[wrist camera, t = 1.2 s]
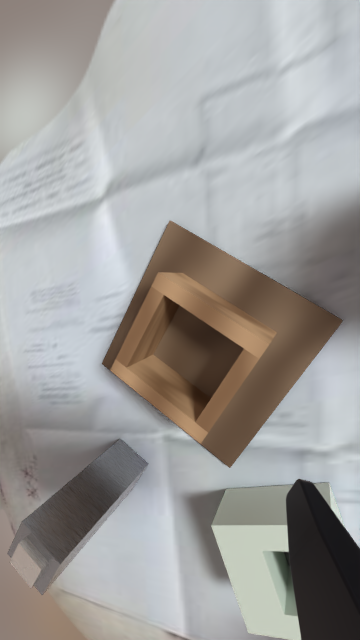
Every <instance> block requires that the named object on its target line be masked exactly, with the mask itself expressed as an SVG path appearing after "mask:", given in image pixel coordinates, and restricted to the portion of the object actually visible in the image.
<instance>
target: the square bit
mask: <svg viewBox="0 0 360 640" xmlns="http://www.w3.org/2000/svg"><path fill="white" fill-rule="evenodd" d="M147 465H148V463H147V462H146V461H145V460H144V459H143V458H141V457H140V456H139V455H138V454H137V453H136V452H135V451H134V450H132V449H131V448H130V447H129V446H128V445H127V444H126V443H125V442H123V441H122V440H121V439H119V440H118V441H117V442H116V443H115V444H114V445H112V446H111V447H110V448H109V449H108V450H106V451H105V452H104V453H103V454H102V455H100V456H99V457H98V458H97V459H96V460H95V461H93V462H92V463H91V464H90V465H89V466H87V467H86V468H85V469H84V470H83V471H82V472H80V473H79V474H78V475H77V476H76V477H74V478H73V479H72V480H71V481H70V482H68V483H67V484H66V485H65V486H64V487H63V488H61V489H60V490H59V491H58V492H57V493H55V494H54V495H53V496H52V497H51V498H49V499H48V500H47V501H46V502H45V503H44V504H42V505H41V506H40V507H39V508H38V509H36V510H35V511H34V512H33V513H32V514H31V515H29V516H28V517H27V518H26V519H25V520H23V521H22V523H21V525H20V527H19V529H18V531H17V534H16V536H15V538H14V540H13V542H12V545H11V547H10V549H9V551H8V555H9V556H10V557H11V560H10V564H11V565H12V566H13V567H14V569H15V570H16V571H17V572H18V573H19V575H20V576H21V577H22V578H23V579H24V581H25V582H26V583H27V584H28V586H29V587H30V588H32V587H33V586H35V587H36V589H37V590H38V591H39V592H40V593H41V595H43V594H44V592H46V590H47V589H48V588H49V587H50V586H51V584H52V583H53V582H54V581H55V580H56V579H57V577H58V576H59V575H60V574H61V573H62V571H63V570H64V569H65V568H66V567H67V566H68V564H69V563H70V562H71V561H72V560H73V559H74V557H75V556H76V555H77V554H78V553H79V551H80V550H81V549H82V548H83V547H84V546H85V544H86V543H87V542H88V541H89V540H90V539H91V537H92V536H93V535H94V534H95V533H96V531H97V530H98V529H99V528H100V527H101V526H102V524H103V523H104V522H105V521H106V520H107V519H108V517H109V516H110V515H111V514H112V513H113V511H114V510H115V509H116V508H117V507H118V506H119V504H120V503H121V502H122V501H123V500H124V498H125V497H126V496H127V495H128V494H129V493H130V491H131V490H132V489H133V488H134V486H135V485H136V483H137V481H138V480H139V478H140V477H141V475H142V473H143V472H144V470H145V469H146V467H147Z"/></svg>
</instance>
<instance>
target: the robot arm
mask: <svg viewBox="0 0 360 640" xmlns="http://www.w3.org/2000/svg"><path fill="white" fill-rule="evenodd" d="M286 514H287V531H288V548H289V561H290V568H291V575H292V582H293V588H294V595H295V602H296V608H297V615H298V621H299V628H300V634H301V640H360V548H359V547H358V546H357V544H356V543H355V541H354V540H353V538H352V537H351V536H350V534H349V533H348V531H347V530H346V529H345V527H344V526H343V524H342V523H341V522H340V520H339V519H338V517H337V516H336V514H335V513H334V512H333V510H332V509H331V507H330V506H329V505H328V503H327V502H326V500H325V499H324V497H323V496H322V495H321V493H320V492H319V490H318V489H317V488H316V486H315V485H314V484H313V483H312V482H310V481H306V480H302V479H298V480H296V482H295V483H294V485H293V486H292V487H291V489H290V490H289V492H288V493H287V496H286Z"/></svg>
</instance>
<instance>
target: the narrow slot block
mask: <svg viewBox="0 0 360 640" xmlns="http://www.w3.org/2000/svg"><path fill="white" fill-rule="evenodd" d="M314 485H315V486H316V488H317V489H318V490H319V492H320V493H321V495H322V496H323V497H324V499H325V500H326V502H327V503H328V505H329V506H330V507H331V509H332V510H333V512H334V513H335V514H336V516H337V517H338V519H339V520H340V522H341V523H342V524H343V526H344V523H343V521H342V518H341V515H340V512H339V509H338V506H337V503H336V501H335V498H334V495H333V492H332V489H331V486H330V483H314ZM292 486H293V485H281V486H265V487H249V488H232V489H226V491H225V493H224V495H223V498H222V500H221V503H220V505H219V508H218V510H217V512H216V515H215V517H214V520H213V522H212V525H211V527H212V529H213V532H214V535H215V538H216V541H217V544H218V547H219V550H220V552H221V555H222V558H223V561H224V564H225V567H226V570H227V573H228V576H229V578H230V581H231V584H232V587H233V590H234V593H235V596H236V599H237V601H238V604H239V607H240V610H241V613H242V616H243V619H244V622H245V625H246V627H247V630H248V633H251V634H257V635H263V636H269V637H276V638H282V639H288V640H301V634H300V628H299V621H298V615H297V608H296V602H295V595H294V588H293V582H292V575H291V568H290V561H289V548H288V531H287V514H286V496H287V493H288V492H289V490H290V489H291V487H292ZM344 527H345V526H344Z"/></svg>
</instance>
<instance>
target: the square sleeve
mask: <svg viewBox="0 0 360 640" xmlns="http://www.w3.org/2000/svg"><path fill="white" fill-rule="evenodd" d="M342 322H343V320H342V319H340V318H338V317H337V316H335V315H333V314H331V313H330V312H328V311H326V310H324V309H323V308H321V307H319V306H317V305H316V304H314V303H312V302H311V301H309V300H307V299H305V298H304V297H302V296H300V295H298V294H297V293H295V292H293V291H292V290H290V289H288V288H286V287H285V286H283V285H281V284H279V283H278V282H276V281H274V280H273V279H271V278H269V277H267V276H266V275H264V274H262V273H260V272H259V271H257V270H255V269H254V268H252V267H250V266H248V265H247V264H245V263H243V262H241V261H240V260H238V259H236V258H235V257H233V256H231V255H229V254H228V253H226V252H224V251H222V250H221V249H219V248H217V247H216V246H214V245H212V244H210V243H209V242H207V241H205V240H203V239H202V238H200V237H198V236H196V235H195V234H193V233H191V232H190V231H188V230H186V229H184V228H183V227H181V226H179V225H177V224H176V223H174V222H172V221H169V223H168V225H167V227H166V230H165V232H164V234H163V236H162V238H161V240H160V242H159V244H158V246H157V249H156V251H155V253H154V255H153V257H152V259H151V261H150V263H149V265H148V268H147V270H146V272H145V274H144V276H143V278H142V280H141V282H140V284H139V287H138V289H137V291H136V293H135V295H134V297H133V299H132V301H131V303H130V306H129V308H128V310H127V312H126V314H125V316H124V318H123V320H122V322H121V325H120V327H119V329H118V331H117V333H116V335H115V337H114V339H113V341H112V343H111V346H110V348H109V350H108V352H107V354H106V356H105V358H104V360H103V362H102V364H103V365H104V366H105V367H107V368H108V369H109V370H110V371H111V372H113V373H114V374H115V375H116V376H118V377H119V378H120V379H121V380H123V381H124V382H125V383H126V384H127V385H129V386H130V387H131V388H132V389H134V390H135V391H136V392H137V393H139V394H140V395H141V396H142V397H143V398H145V399H146V400H147V401H148V402H150V403H151V404H152V405H153V406H154V407H156V408H157V409H158V410H159V411H161V412H162V413H163V414H164V415H166V416H167V417H168V418H169V419H170V420H172V421H173V422H174V423H175V424H177V425H178V426H179V427H180V428H181V429H183V430H184V431H185V432H186V433H188V434H189V435H190V436H191V437H193V438H194V439H195V440H196V441H197V442H199V443H200V444H201V445H202V446H204V447H205V448H206V449H207V450H209V451H210V452H211V453H212V454H213V455H215V456H216V457H217V458H218V459H220V460H221V461H222V462H223V463H224V464H226V465H227V466H228V467H229V468H230V467H231V466H232V465H233V463H234V462H235V461H236V459H237V458H238V457H239V455H240V454H241V453H242V452H243V450H244V449H245V448H246V446H247V445H248V444H249V442H250V441H251V440H252V439H253V437H254V436H255V435H256V433H257V432H258V431H259V429H260V428H261V427H262V426H263V424H264V423H265V422H266V420H267V419H268V418H269V416H270V415H271V414H272V413H273V411H274V410H275V409H276V407H277V406H278V405H279V403H280V402H281V401H282V400H283V398H284V397H285V396H286V394H287V393H288V392H289V390H290V389H291V388H292V387H293V385H294V384H295V383H296V381H297V380H298V379H299V377H300V376H301V375H302V374H303V372H304V371H305V370H306V368H307V367H308V366H309V364H310V363H311V362H312V361H313V359H314V358H315V357H316V355H317V354H318V353H319V351H320V350H321V349H322V348H323V346H324V345H325V344H326V342H327V341H328V340H329V338H330V337H331V336H332V335H333V333H334V332H335V331H336V329H337V328H338V327H339V325H340V324H341V323H342Z"/></svg>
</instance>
